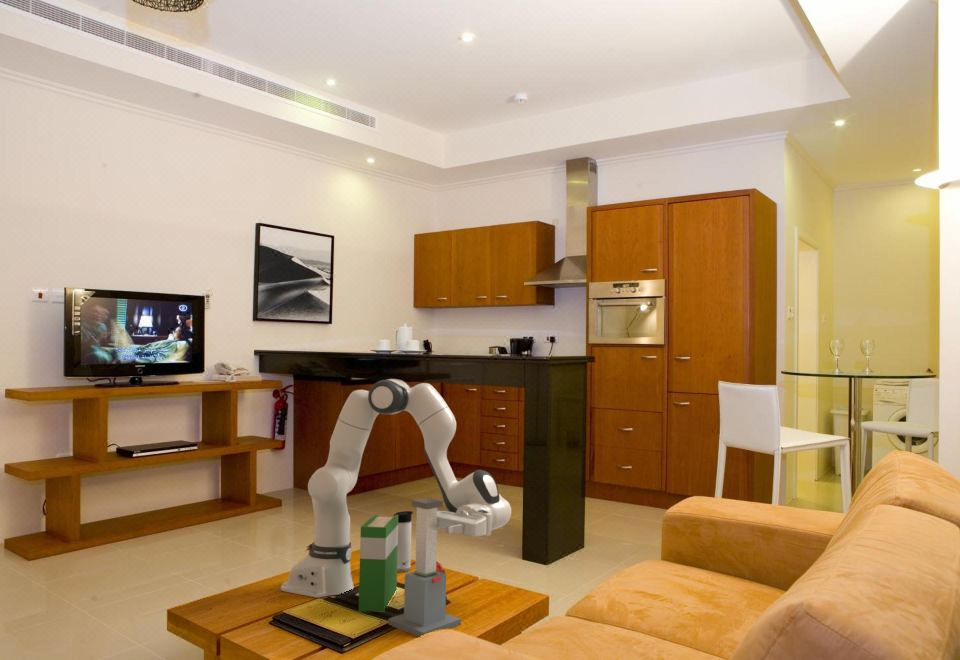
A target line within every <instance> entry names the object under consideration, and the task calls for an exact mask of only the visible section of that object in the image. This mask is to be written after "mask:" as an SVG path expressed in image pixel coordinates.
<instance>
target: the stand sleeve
mask: <svg viewBox="0 0 960 660" xmlns="http://www.w3.org/2000/svg"><path fill="white" fill-rule="evenodd" d="M403 593H404V594H403V595H404V601H403V613H402V614H398V615H396V616H395V615H394V616H393V617H390V618H388V619H387V621H388V622H387V625H389V626H391V627H393V628H396V629H399V630H401V631H404V632H407V634H408V633H409V634H411V635H414V636H416V637H418V638H420V637H419V636H421V635H424V634H426V633H429V632H432V631H435V630H439V629H446V628H450V629H452V628H454V627H457V626H461V624H462V623H461V622H462V619H461V618H460V617H457V616H454V615H452V614H449V613H446V611H447V610H446V608H447V607H446V606H447V605H446V604H447V601H446V600H447V573H445V574H444V573H441V572H438V571H436V575H433V576H430V577H426V578H424V577H421V576H418V575H415V570H414V571H412V572H411V571H409V572H406V573H405V574H404V592H403Z"/></svg>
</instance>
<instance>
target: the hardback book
mask: <svg viewBox="0 0 960 660" xmlns="http://www.w3.org/2000/svg"><path fill="white" fill-rule="evenodd" d="M359 544H360V545H359V546H360V547H359V548H360V549H359V574H358V575H359V576H358V577H359V578H358V579H359V582H358V584H359V585H358V611H357V612H358V613H363V612H362V611H384V610H385V608H386V606H387V605H388V603H389V601H390V600H391V598H392V596H393V595H394V593H395V591H396V590H397V588H398V587H397V583H398V582H397V581H398V579H397V577H398V572H397V550H398V515H395V516H394V515H393V517H391V516H379V513H374V515H372V516H371V517H370V518H369V519H368V520H366V521H365V522H364V523H363V524H362V525H361V526H360V541H359ZM396 592H397V591H396ZM359 611H360V612H359Z"/></svg>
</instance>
